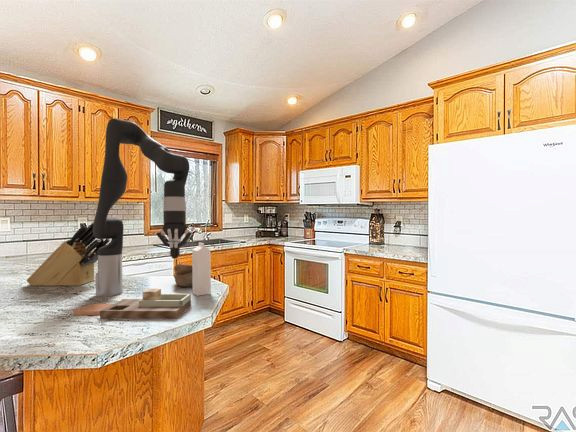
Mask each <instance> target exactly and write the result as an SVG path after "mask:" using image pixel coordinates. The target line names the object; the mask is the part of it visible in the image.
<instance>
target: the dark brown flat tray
mask: <svg viewBox="0 0 576 432" xmlns="http://www.w3.org/2000/svg"><path fill="white" fill-rule="evenodd" d="M139 300H143V298H123V299H121V300H119V301H117V302H114V303H112V304H113V305H111V306H109V307H107V308H105V309H103V310H101V311H100V315H99V319H148V320H149V319H151V320H152V319H153V320H154V319H159V320H160V319H166V320H167V319H168V320H169V319H171V320H172V319H173V320H174V319H175V320H177V319H178V318H179V317H180V316H182V314H184V313H185V312H186V311H187V310H188V309H189V308H190V307H192V299H191V300H189V301H188V302H187V303H186V304H184V305H183V306H182V307H139Z"/></svg>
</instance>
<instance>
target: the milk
mask: <svg viewBox="0 0 576 432" xmlns="http://www.w3.org/2000/svg"><path fill="white" fill-rule="evenodd" d="M191 250H192V251H191V253H192V254H191V260H192V264H191V265H192V284H193V286H192V294H193V295H195V296H196V297H199V296H205V295H211V294H212V288H211V287H212V280H211V279H212V278H211V277H212V276H211V275H212V273H211V272H212V271H211V270H212V266H211V265H212V264H211V263H212V261H211V257H212V255H211V254H212V253H211V249H209V248H207V247H206V246H205V243H204V242H200V241H199V242H198V246H196V247H194V248H193V249H191Z"/></svg>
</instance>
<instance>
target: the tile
mask: <svg viewBox="0 0 576 432" xmlns="http://www.w3.org/2000/svg"><path fill="white" fill-rule="evenodd" d="M113 304H114V303H89V304H88V305H84V306H83V307H80V308H77V309H76V310H73V316H80V315H81V316H82V315H83V316H85V315H87V316H100V311H101V310H103V309H105V308H107V307H109V306H111V305H113Z"/></svg>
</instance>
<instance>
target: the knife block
mask: <svg viewBox="0 0 576 432" xmlns="http://www.w3.org/2000/svg"><path fill="white" fill-rule="evenodd" d="M93 224H94V221H92V222H91V224H90V225H88V226H86V225H82V226H81V227H80V228H78V230H77V231H76V232H75V233H74V234H73V236H72V237H71V238H70V239H68V240H65V241H63V242H62V243H61V244H60V245H59V246H58V247H57V248H56V249H55V250H54V251H53V252H52V253H51V254H50V255H49V256H48V257H47V258H46V259H45V260H44V261H43V262H42V263H41V265H39V266H38V268H36V270H34V272H33V273H32V274H31V275H30V276H29V277H28V278H27V279H26V282H27V283H28V284H29V285H30V286H34V287H38V286H77V287H79V286H82V285H85V284H88V283H90V282H94V280H95V263H96V262H98V249H99V248H101V247H103V246H105V245H107V244H109V243H110V242H111V239H96V238H95V237H94V235H93Z"/></svg>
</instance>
